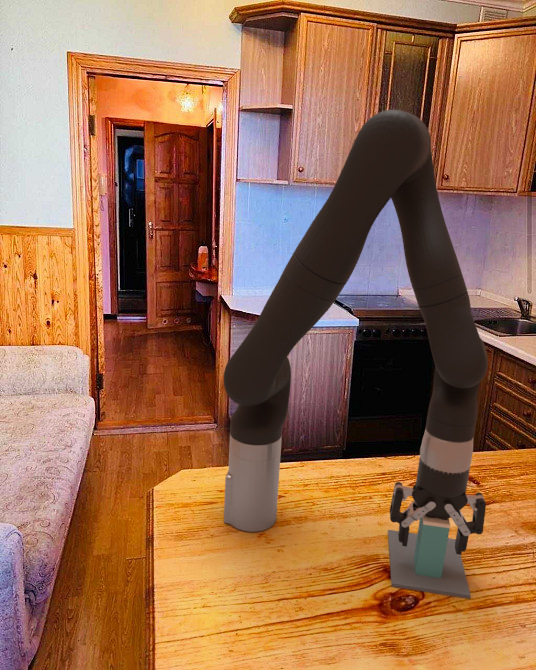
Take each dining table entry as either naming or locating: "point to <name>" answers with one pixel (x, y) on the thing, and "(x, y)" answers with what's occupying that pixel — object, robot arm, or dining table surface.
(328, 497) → the dining table surface
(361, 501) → the dining table surface
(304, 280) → the robot arm
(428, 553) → the block
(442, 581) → the mat
